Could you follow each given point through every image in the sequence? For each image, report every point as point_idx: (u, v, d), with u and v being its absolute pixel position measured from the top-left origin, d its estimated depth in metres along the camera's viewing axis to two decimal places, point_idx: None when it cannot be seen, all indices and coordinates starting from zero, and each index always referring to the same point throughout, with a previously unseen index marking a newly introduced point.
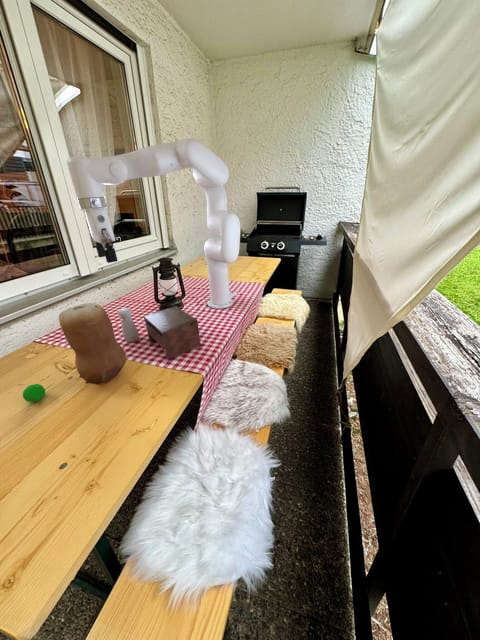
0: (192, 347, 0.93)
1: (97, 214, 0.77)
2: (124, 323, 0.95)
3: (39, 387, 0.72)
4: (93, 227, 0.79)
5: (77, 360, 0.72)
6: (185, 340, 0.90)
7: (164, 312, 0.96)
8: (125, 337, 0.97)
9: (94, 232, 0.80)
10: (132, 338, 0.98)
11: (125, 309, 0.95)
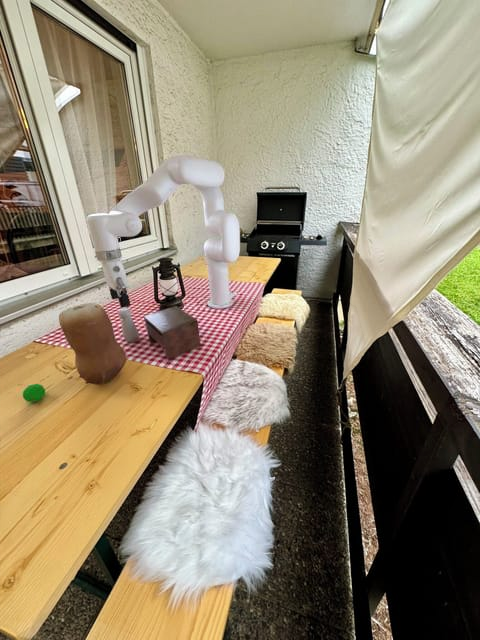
0: (192, 347, 0.93)
1: (113, 265, 0.82)
2: (124, 323, 0.95)
3: (39, 387, 0.72)
4: (109, 276, 0.84)
5: (77, 360, 0.72)
6: (185, 340, 0.90)
7: (164, 312, 0.96)
8: (125, 337, 0.97)
9: (109, 280, 0.85)
10: (132, 338, 0.98)
11: (125, 309, 0.95)
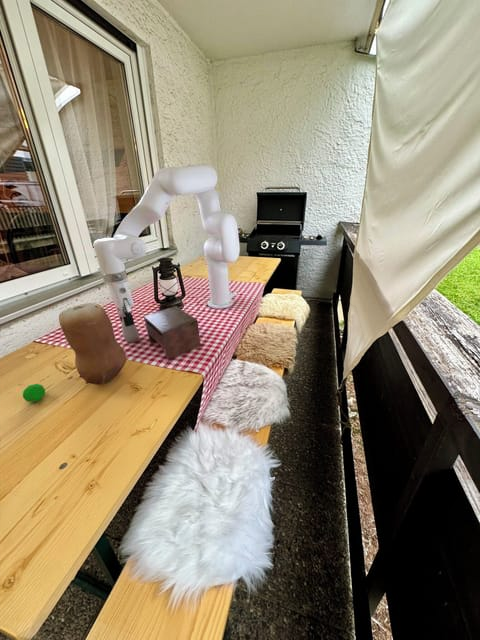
0: (192, 347, 0.93)
1: (119, 287, 0.86)
2: (124, 323, 0.95)
3: (39, 387, 0.72)
4: (115, 297, 0.88)
5: (77, 360, 0.72)
6: (185, 340, 0.90)
7: (164, 312, 0.96)
8: (125, 337, 0.97)
9: (116, 301, 0.89)
10: (132, 338, 0.98)
11: None
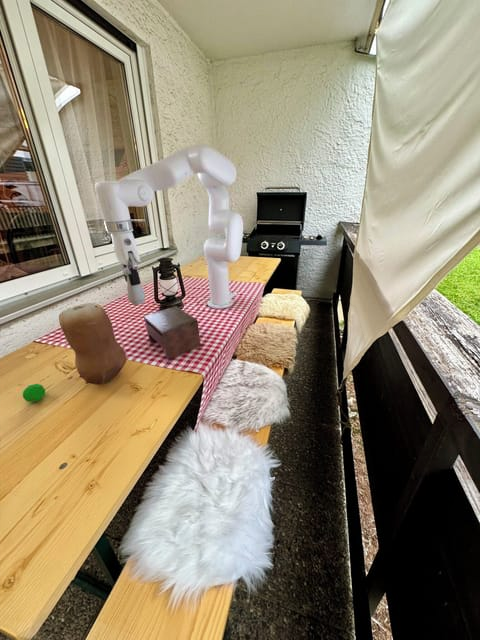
0: (192, 347, 0.93)
1: (124, 237, 0.77)
2: (129, 282, 0.86)
3: (39, 387, 0.72)
4: (120, 250, 0.79)
5: (77, 360, 0.72)
6: (185, 340, 0.90)
7: (164, 312, 0.96)
8: (130, 299, 0.88)
9: (120, 254, 0.80)
10: (138, 300, 0.89)
11: (130, 267, 0.86)
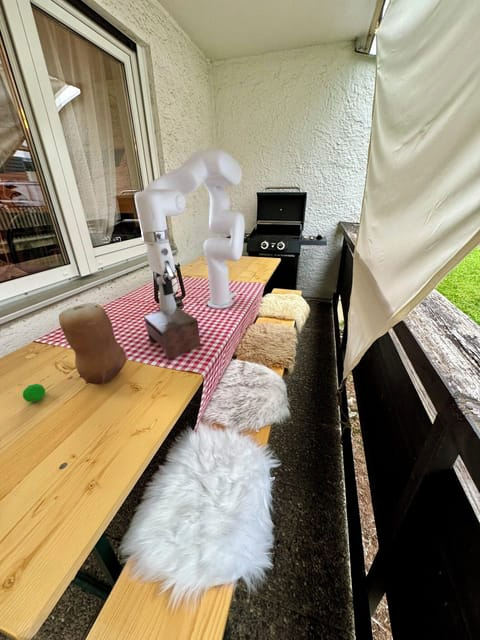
0: (192, 347, 0.93)
1: (161, 247, 0.76)
2: (162, 292, 0.85)
3: (39, 387, 0.72)
4: (156, 260, 0.78)
5: (77, 360, 0.72)
6: (185, 340, 0.90)
7: None
8: (163, 308, 0.87)
9: (156, 264, 0.79)
10: (170, 309, 0.88)
11: (164, 276, 0.85)
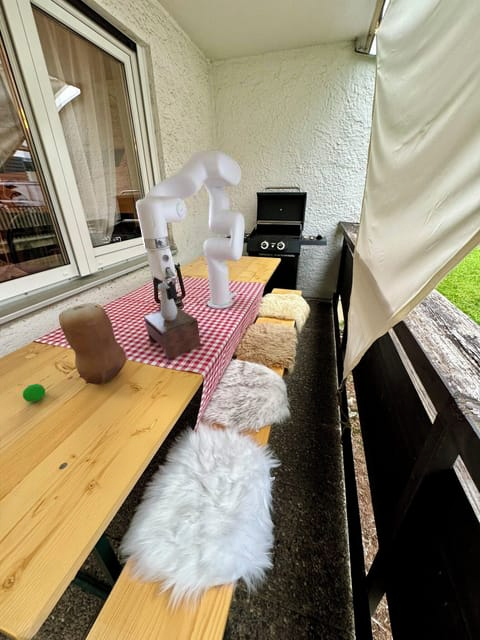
0: (192, 347, 0.93)
1: (162, 254, 0.77)
2: (164, 298, 0.86)
3: (39, 387, 0.72)
4: (157, 266, 0.79)
5: (77, 360, 0.72)
6: (185, 340, 0.90)
7: None
8: (164, 314, 0.88)
9: (157, 270, 0.80)
10: (171, 316, 0.89)
11: None
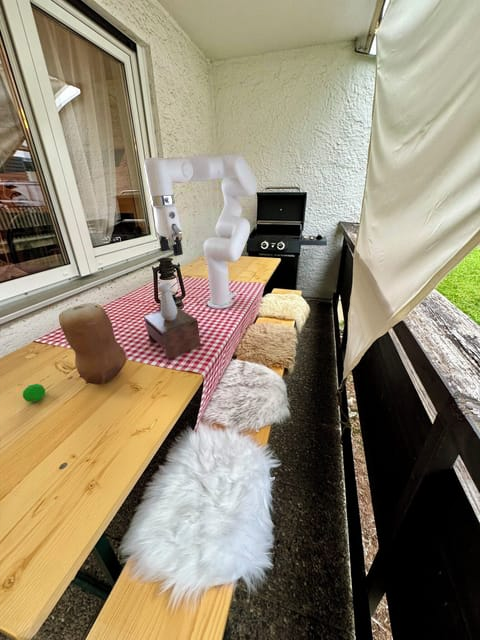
0: (192, 347, 0.93)
1: (169, 211, 0.84)
2: (164, 298, 0.86)
3: (39, 387, 0.72)
4: (164, 223, 0.86)
5: (77, 360, 0.72)
6: (185, 340, 0.90)
7: None
8: (164, 314, 0.88)
9: (164, 227, 0.87)
10: (171, 316, 0.89)
11: (165, 283, 0.86)
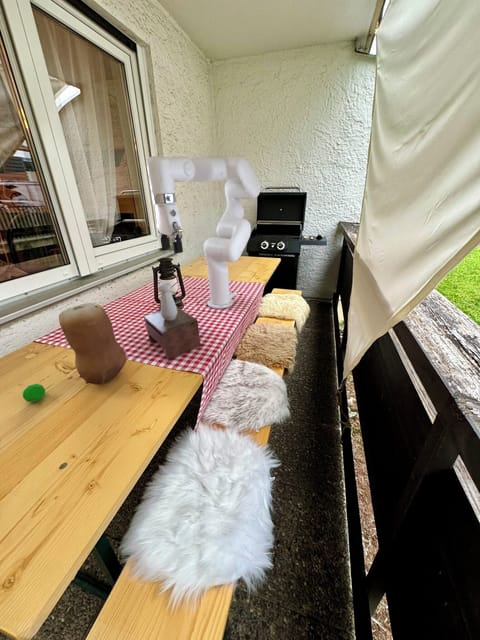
0: (192, 347, 0.93)
1: (170, 209, 0.85)
2: (164, 298, 0.86)
3: (39, 387, 0.72)
4: (165, 221, 0.87)
5: (77, 360, 0.72)
6: (185, 340, 0.90)
7: None
8: (164, 314, 0.88)
9: (165, 225, 0.88)
10: (171, 316, 0.89)
11: (165, 283, 0.86)
